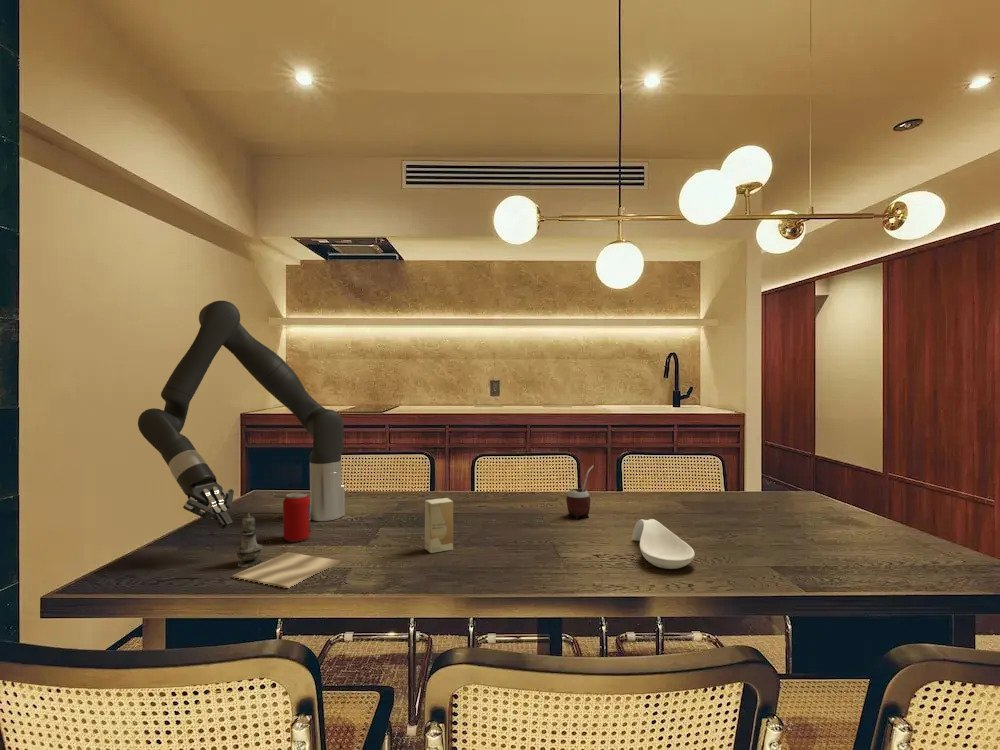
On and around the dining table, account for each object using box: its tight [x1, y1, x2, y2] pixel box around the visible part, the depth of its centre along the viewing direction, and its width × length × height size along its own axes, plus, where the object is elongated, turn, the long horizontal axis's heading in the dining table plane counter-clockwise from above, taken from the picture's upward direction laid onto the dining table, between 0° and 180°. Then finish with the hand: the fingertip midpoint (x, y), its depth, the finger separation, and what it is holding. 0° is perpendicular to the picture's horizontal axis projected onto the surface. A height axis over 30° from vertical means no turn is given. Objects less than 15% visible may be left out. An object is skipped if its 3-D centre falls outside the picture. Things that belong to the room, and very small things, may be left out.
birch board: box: [231, 551, 341, 589], centre depth 122 cm, size 16×16×1 cm
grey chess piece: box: [234, 512, 263, 567], centre depth 126 cm, size 6×6×12 cm
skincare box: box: [424, 497, 454, 554], centre depth 134 cm, size 6×4×12 cm
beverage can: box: [282, 491, 311, 543], centre depth 144 cm, size 7×7×12 cm
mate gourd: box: [565, 465, 594, 521], centre depth 162 cm, size 8×8×15 cm
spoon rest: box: [631, 518, 696, 570], centre depth 128 cm, size 24×12×7 cm, turn 5°
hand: (228, 526), depth 129 cm, fingers closed
